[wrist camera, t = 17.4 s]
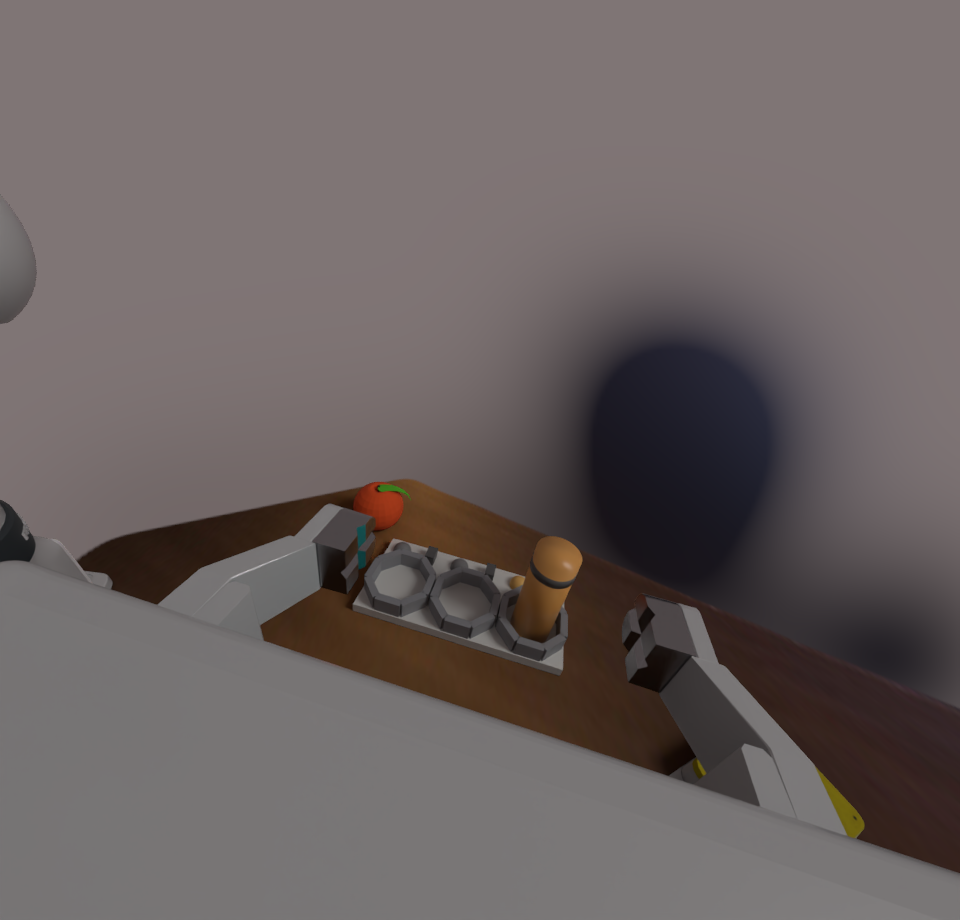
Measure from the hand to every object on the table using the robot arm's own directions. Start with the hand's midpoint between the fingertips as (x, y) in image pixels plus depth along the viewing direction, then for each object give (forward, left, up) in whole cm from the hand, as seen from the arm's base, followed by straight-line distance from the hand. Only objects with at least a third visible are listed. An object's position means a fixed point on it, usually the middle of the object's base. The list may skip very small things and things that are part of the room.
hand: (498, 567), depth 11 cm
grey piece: (-2, +21, -30) cm, 37 cm away
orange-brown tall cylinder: (+6, +20, -29) cm, 35 cm away
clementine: (-17, +30, -30) cm, 46 cm away
